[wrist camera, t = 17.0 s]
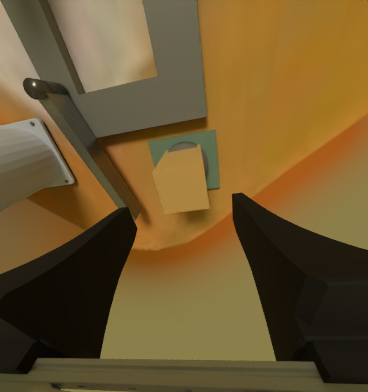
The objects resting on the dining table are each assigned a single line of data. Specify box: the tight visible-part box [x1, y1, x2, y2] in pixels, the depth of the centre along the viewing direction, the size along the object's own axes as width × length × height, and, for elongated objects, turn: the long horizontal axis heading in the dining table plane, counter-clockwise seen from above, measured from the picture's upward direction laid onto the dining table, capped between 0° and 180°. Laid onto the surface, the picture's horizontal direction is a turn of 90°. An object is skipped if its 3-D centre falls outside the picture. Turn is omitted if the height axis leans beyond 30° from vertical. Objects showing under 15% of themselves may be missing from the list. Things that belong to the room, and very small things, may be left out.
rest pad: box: [148, 130, 220, 189], centre depth 19 cm, size 8×7×1 cm
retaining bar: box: [23, 78, 142, 221], centre depth 17 cm, size 15×1×3 cm, turn 23°
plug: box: [152, 142, 209, 214], centre depth 16 cm, size 5×5×7 cm
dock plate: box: [1, 0, 207, 138], centre depth 14 cm, size 15×14×1 cm
